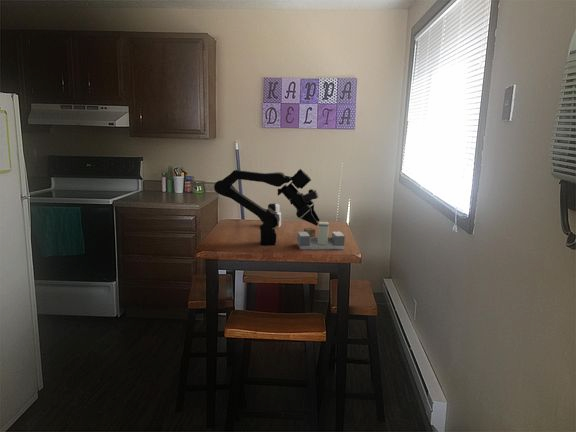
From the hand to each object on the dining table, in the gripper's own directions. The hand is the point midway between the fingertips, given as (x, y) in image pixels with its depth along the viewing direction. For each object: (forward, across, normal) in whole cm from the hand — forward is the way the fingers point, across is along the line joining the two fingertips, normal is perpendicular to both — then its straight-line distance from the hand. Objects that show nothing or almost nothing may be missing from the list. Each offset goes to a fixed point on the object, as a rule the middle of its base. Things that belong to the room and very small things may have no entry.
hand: (318, 222), depth 190 cm
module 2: (+12, +1, 0) cm, 13 cm away
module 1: (+2, -3, +10) cm, 11 cm away
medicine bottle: (-10, +38, +26) cm, 47 cm away
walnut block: (+4, +18, +11) cm, 21 cm away
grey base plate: (+8, -1, +6) cm, 10 cm away
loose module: (+8, 0, +4) cm, 9 cm away
